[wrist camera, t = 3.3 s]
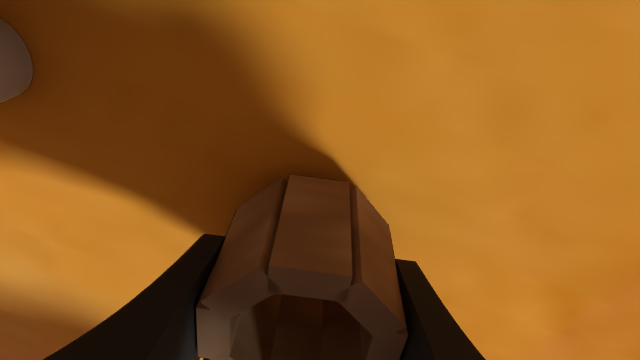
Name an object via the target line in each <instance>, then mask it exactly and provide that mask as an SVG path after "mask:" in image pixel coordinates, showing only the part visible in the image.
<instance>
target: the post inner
mask: <svg viewBox="0 0 640 360" xmlns="http://www.w3.org/2000/svg"><path fill="white" fill-rule="evenodd" d="M32 76H33V65H32V60H31V56H30V54H29V51H28V49H27V47H26V45H25V43H24V42H23V40H22V39H21V37H20V36H19V35H18V33H17V32H16V31H15V30H14V29H13V28H12V27H11V26H10V25H9V24H8V23H7V22H6V21H4V20H3V19H2V18H0V103H3V102H5V101H7V100H9V99H11V98H14V97H16V96H18V95H20V94H22V93H23V92H24V91H25V90H26V89H27V88H28V87H29V85H30V83H31V80H32Z"/></svg>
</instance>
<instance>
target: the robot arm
mask: <svg viewBox="0 0 640 360" xmlns="http://www.w3.org/2000/svg"><path fill="white" fill-rule="evenodd" d="M224 241H225V236H217V235H210V234H204V235H202V236H201V237H200V238H199V239H198V240H197V241H196V242H195V243H194V244H193V245H192V246H191V247H190V248H189V249H188V250H187V251H186V252H185V253H184V254H183V255H182V256H181V257H180V258H179V259H178V260H177V261H176V262H175V263H174V264H173V265H172V266H171V267H169V268H168V269H167V270H166V271H165V272H164V273H163V274H162V275H161V276H160V277H158V278H157V279H156V280H155V281H154V282H153V283H152V284H151V285H149V286H148V287H147V288H146V289H144V290H143V291H142V292H141V293H140V294H138V295H137V296H136V297H135V298H134V299H132V300H131V301H130V302H129V303H127V304H126V305H125V306H123V307H122V308H121V309H119V310H118V311H117V312H115V313H114V314H113V315H111V316H110V317H109V318H107V319H106V320H104V321H103V322H102V323H100V324H99V325H97V326H96V327H94V328H93V329H91V330H90V331H88V332H87V333H85V334H84V335H82V336H81V337H79V338H77V339H76V340H74V341H73V342H71V343H70V344H68V345H67V346H65V347H63V348H62V349H60V350H58V351H57V352H55V353H53V354H52V355H50V356H48V357H46V358H45V359H43V360H199V359H200V357H198V343H197V318H196V307H197V305H198V302H199V300H200V297H201V295H202V292H203V290H204V287H205V285H206V283H207V280H208V278H209V275H210V273H211V271H212V269H213V267H214V265H215V263H216V261H217V258H218V256H219V253H220V251H221V248H222V246H223V243H224ZM395 264H396V270H397V276H398V281H399V287H400V293H401V296H402V302H403V308H404V314H405V319H406V325H407V331H408V337H407V340H406V342H405V345H404V348H403V351H402V354H401V356H400V359H399V360H485V358H484V357H483V356H482V355H481V354H480V353H479V351H478V350H477V349H476V348H475V346H474V345H473V344H472V343H471V341H470V340H469V339H468V337H467V336H466V335H465V334H464V332H463V331H462V330H461V328H460V327H459V326H458V324H457V323H456V321H455V320H454V319H453V317H452V316H451V314H450V313H449V311H448V310H447V309H446V307H445V306H444V304H443V303H442V301H441V300H440V298H439V297H438V295H437V294H436V292H435V291H434V289H433V288H432V286H431V285H430V283H429V282H428V280H427V278H426V277H425V275H424V274H423V272H422V271H421V269H420V267H419V266H418V264H417V263H416V262H415V261H407V260H399V259H395Z"/></svg>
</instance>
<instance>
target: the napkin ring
mask: <svg viewBox="0 0 640 360" xmlns="http://www.w3.org/2000/svg"><path fill="white" fill-rule="evenodd" d="M196 318H197V343H198V357H200V358H204V359H203V360H399V359H400V356H401V354H402V351H403V348H404V345H405V342H406V340H407V337H408V331H407V325H406V319H405V314H404V308H403V302H402V296H401V293H400V287H399V281H398V276H397V270H396V264H395V256H394V250H393V245H392V239H391V233H390V229H389V225H388V224H387V222H386V221H385V220H384V219H383V218H382V216H381V215H380V214H379V213H378V212H377V210H376V209H375V208H374V207H373V206H372V204H371V203H370V202H369V201H368V200H367V198H366V197H365V196H364V195H363V194H362V192H361V191H360V190H359V189H358V187H357V186H355V187H354V188H352V189H351V190H349V182H343V181H336V180H329V179H321V178H314V177H306V176H299V175H292V174H290V176H289V180H288V182H287V181H286V180H285V179H284V178H283V177H282V176H281V177H280V178H278V179H277V180H275V181H274V182H272V183H271V184H269V185H268V186H267V187H265V188H264V189H262V190H261V191H259V192H258V193H256V194H255V195H253V196H252V197H250V198H249V199H247V200H246V201H244V202H243V203H241V204H240V205H239V206H238V209H237V211H235V214H234V216H233V219H232V221H231V224H230V226H229V229H228V231H227V233H226V236H225V241H224V243H223V246H222V248H221V251H220V253H219V256H218V258H217V261H216V263H215V265H214V267H213V269H212V271H211V273H210V275H209V278H208V280H207V283H206V285H205V287H204V290H203V292H202V295H201V297H200V300H199V302H198V305H197V307H196Z"/></svg>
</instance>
